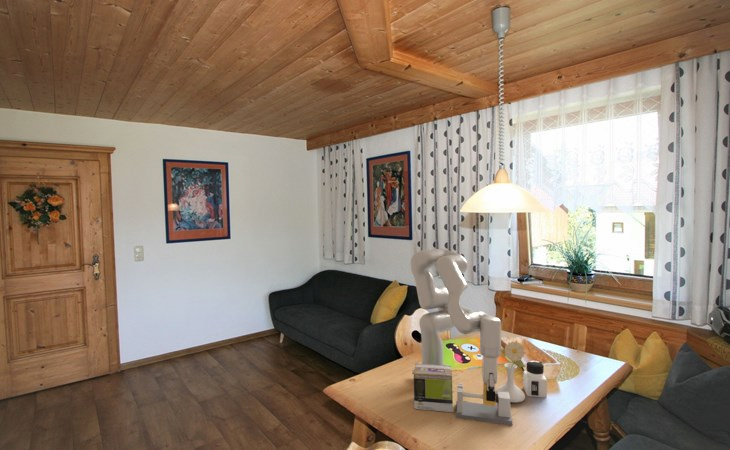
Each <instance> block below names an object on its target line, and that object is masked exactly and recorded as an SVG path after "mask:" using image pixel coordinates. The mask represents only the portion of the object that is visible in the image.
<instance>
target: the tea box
mask: <svg viewBox="0 0 730 450" xmlns="http://www.w3.org/2000/svg"><path fill="white" fill-rule="evenodd" d="M413 370H414V374H413V406H414V409H415V410H424V411H436V412H447V413H453V412H454V411H453V410H454V409H453V401H454V400H453V372H452V365H444V364H443V365H429V364H422V363H415V365H414V369H413Z"/></svg>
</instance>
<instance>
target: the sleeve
mask: <svg viewBox="0 0 730 450" xmlns="http://www.w3.org/2000/svg"><path fill="white" fill-rule="evenodd" d="M482 382H483V381H482ZM488 382H490V381H488ZM493 382H494V380H493ZM489 386H490V384H489ZM482 388H483V389H482V394H484V399H482V401H483V403H482V404H484V405H490V406H495V405H496V401H495V402H492V401H487V400H486V390H487V383H486V382H485V383H484V382H483V386H482Z"/></svg>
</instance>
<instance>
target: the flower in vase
mask: <svg viewBox="0 0 730 450" xmlns="http://www.w3.org/2000/svg"><path fill="white" fill-rule="evenodd" d="M525 350H526V349H525V346H524V345H523V344H522V343H520V342H518V341H517V340H515V341H511V342H508V343H507V344H506V345H505V347H504V354H505V355H504V358H505V359H506V360H507V361H508V363H507V362H505V363H504V365H503V366H504V367H505V369H506V372H507V373H506V374H507V380H506V382H505V383H504V384H502V385H500V386H499V387H498V388H497V389H495V394H498V391H500V392H509V396H510V403H521V402H523V401H524V400H525V399H526V393H524V392H525V391H523V390H522V389H521V388H519V387H518V386H517V385H516V384H515V381H514V375H515V371H516V369H517V368H518V367H519V368H526V366H525V364H524V362H523V360H522V359H523V358H524V357H525V354H526V352H525ZM515 363H516V364H515Z"/></svg>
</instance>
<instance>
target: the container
mask: <svg viewBox="0 0 730 450" xmlns="http://www.w3.org/2000/svg"><path fill="white" fill-rule="evenodd" d="M544 369H545V368H544V364H543V363H541V362H540V361H537V360H529V361H527V362H526V370H523V379H522V381H523V382H522V383H523V384H522V385H523V386H522V387H523V390H524V392H525V395H526V396H527V397H534V398H545V399H547V395H548V393H547V392H548V380H547V378H546V376H545V374H544Z"/></svg>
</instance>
